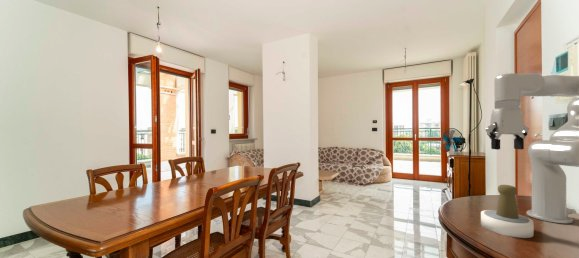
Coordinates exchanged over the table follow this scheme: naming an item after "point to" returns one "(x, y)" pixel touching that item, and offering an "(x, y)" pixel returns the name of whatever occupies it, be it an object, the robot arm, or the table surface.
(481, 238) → the table surface
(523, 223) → the podium
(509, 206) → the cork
